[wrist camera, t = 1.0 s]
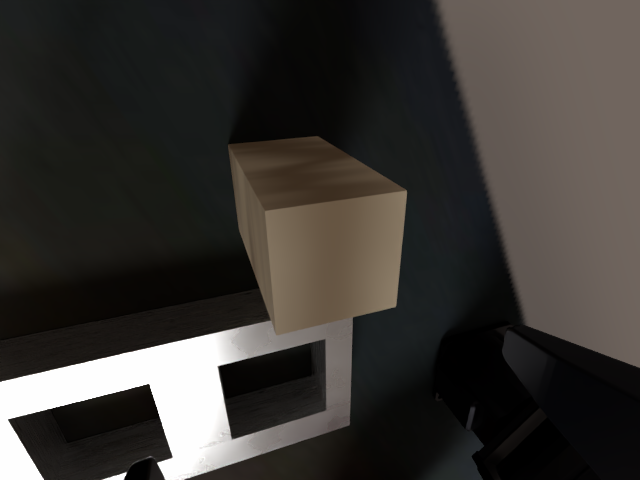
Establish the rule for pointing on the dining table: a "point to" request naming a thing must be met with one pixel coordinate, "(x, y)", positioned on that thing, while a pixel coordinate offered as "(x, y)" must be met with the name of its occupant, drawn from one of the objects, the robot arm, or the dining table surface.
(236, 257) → the dining table surface
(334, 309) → the maple peg
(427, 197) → the dining table surface
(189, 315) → the double square frame
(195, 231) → the dining table surface
